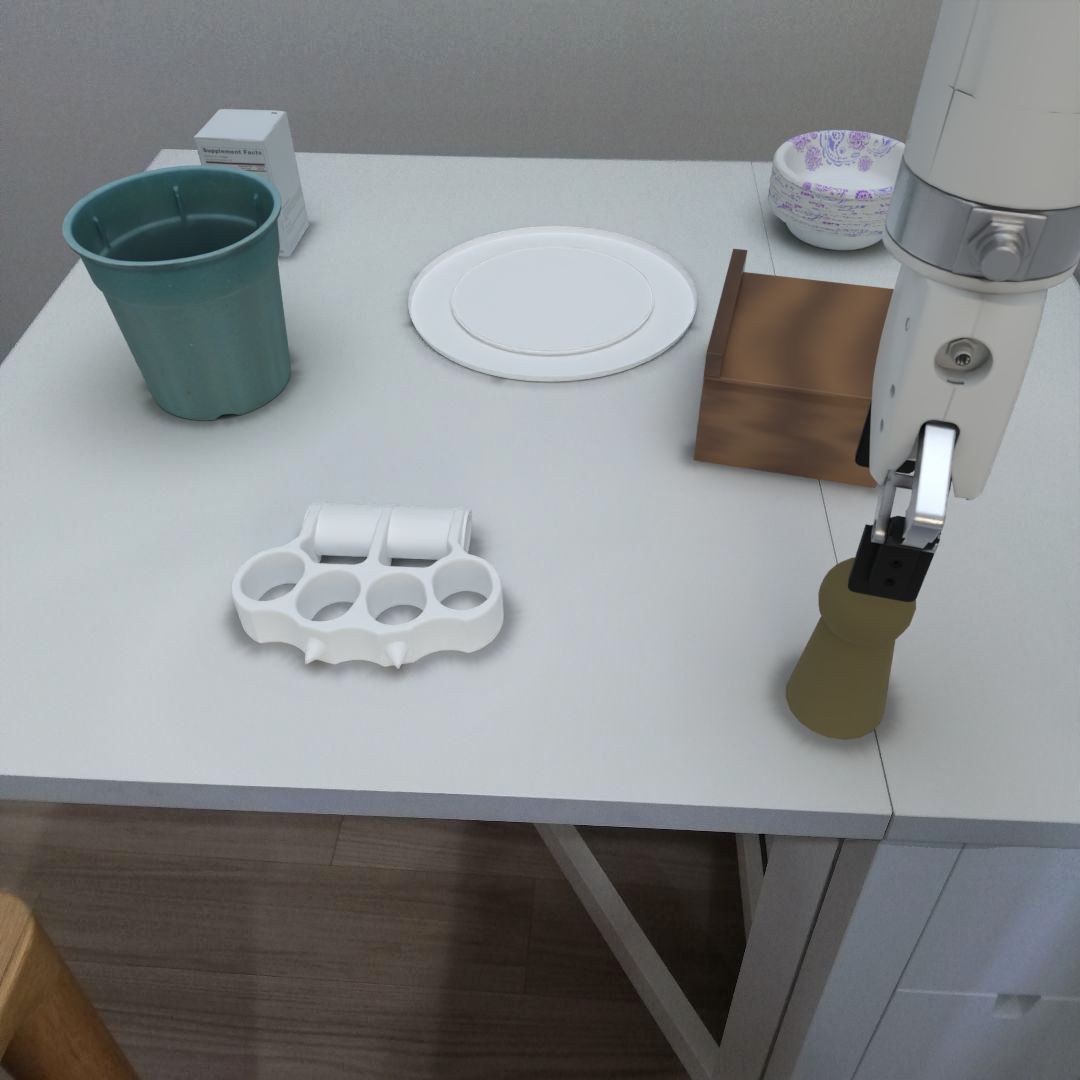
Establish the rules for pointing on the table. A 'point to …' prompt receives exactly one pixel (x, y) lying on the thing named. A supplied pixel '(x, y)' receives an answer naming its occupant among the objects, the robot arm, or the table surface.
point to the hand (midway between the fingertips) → (881, 525)
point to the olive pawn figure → (847, 659)
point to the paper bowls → (835, 186)
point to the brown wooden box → (790, 375)
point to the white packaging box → (259, 160)
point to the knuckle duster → (372, 585)
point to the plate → (552, 303)
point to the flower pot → (191, 283)
